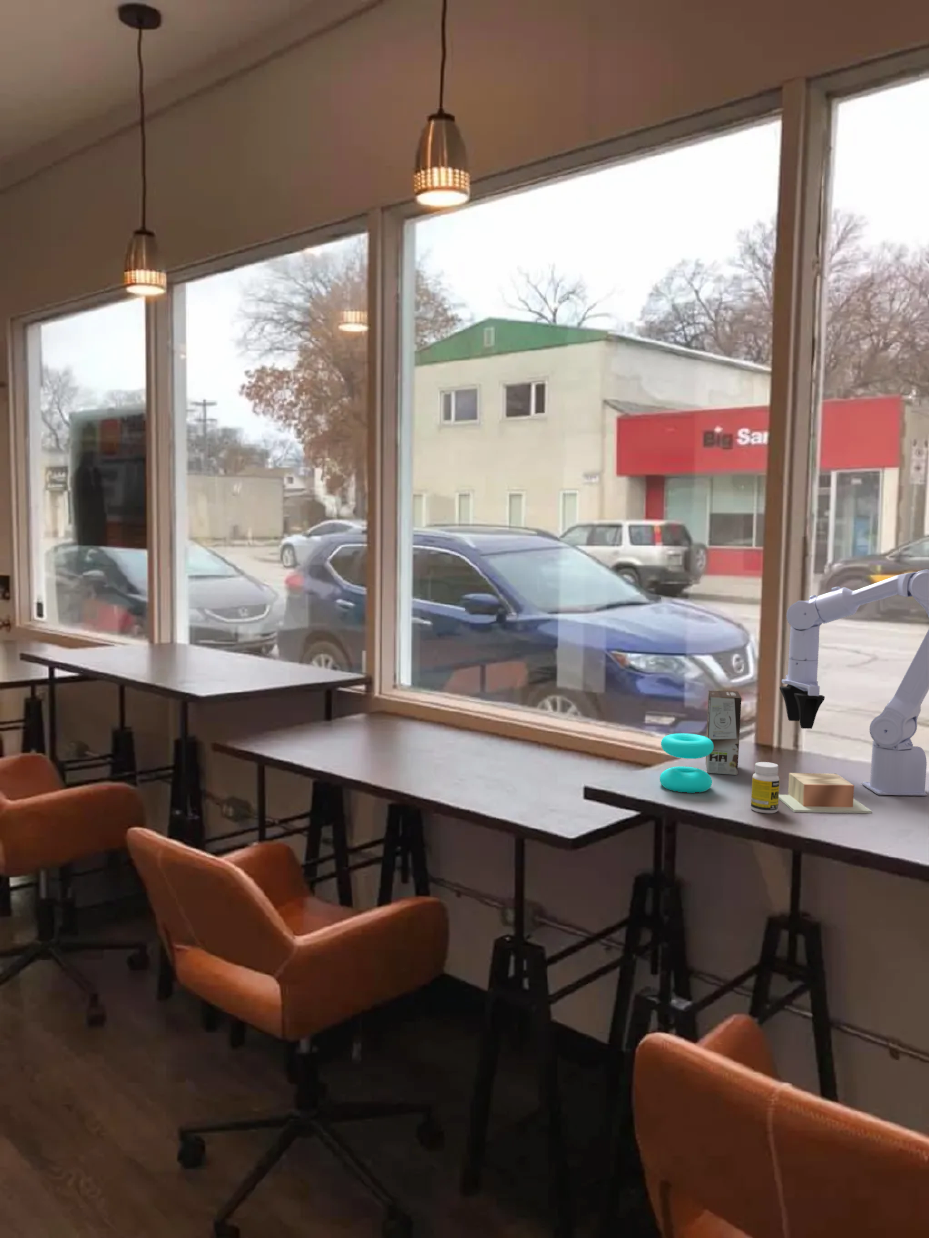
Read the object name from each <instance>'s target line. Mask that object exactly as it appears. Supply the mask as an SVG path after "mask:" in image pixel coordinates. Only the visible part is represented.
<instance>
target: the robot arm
mask: <svg viewBox="0 0 929 1238" xmlns="http://www.w3.org/2000/svg"><path fill="white" fill-rule="evenodd" d="M894 596H900V597H905V598H911V597H912V598H913V599H914V600H915V601H916V602H917V603H918V605H920V606H921V607H922V608H923V609H924V611H925V612H926V615H927V617H928V618H929V569H922V570H918V571H914V572H907V573H901V574H897V575H894V576H891V577H889V578H885V579H883V580H880V581H878V582H875V583H872V584H870V585H866V586H863V587H861V588H859V589H856V590H852V589H850V588H848V587H845V586H844V587H840V585H839V586H834V587H831V591H829V592H826V593H823V594H819V595H816V594H814V595H813V594H812V595H810V596H809V600H797V601H796V602H794V603H792V604H791V605H790V606H789V607H788V608H787V611H786V621H787V623H788V625H790V628H789V629H790V631H789V643H788V644H789V646H788V647H789V648H788V662H787V663H788V664H787V666H788V667H787V668H788V669H787V674H786V675H785V679H784V678H782V679H781V683H782V684H784V685H786V686H782V685H781V686H779V690H780V692H781V694H782V697H783V700H784V705H785V710H786V716H787V721H789V722H799V725H800V729H803V730H804V729H805V730H806V729H808V730H811V729H812V730H813V727H814V724H815V720H816V717H817V713H818V711H819V709H820V707H821V705H822V704H823V702H824V701H825V698H826V697H825V696H824V695H823V694H820V689H821V687H820V685H819V681H818V671H819V669H818V668H819V667H818V666H819V649H820V648H819V647H820V646H819V645H820V628H821V626H822V624H828V623H831V622H834V621H837V620H840V619H844V618H847V617H850V616H854V615H855V614H856V613H857V611H858V609H859V607H860V606H863V605H866V604H869V603H872V602H877V601H880V600H884V599H887V598H890V597H894ZM910 662H911V663H910V665H909V667H908V668H907V670H906V672H905V674H904V677H903V678H902V680H901V682H900V684H899V686H898V687H897V690H896V692H895V693H894V695H893V696H892V697H891V699H890V701H888V703H887V704H886V705H885V706H884V708H883V710H882V712H881V713H880V714H879V715H877V716H876V717H874V718H873V719H872V721H871V722H870V724H869V735H870V737H871V739H872V746H871V747H872V749H871V763H870V780H869V781H862V783H861V785H863V786H864V787H865V788H867V789H868V790H870V791H872V792H873V793H875V794H876V795H879V796H921V797H923V796H927V792H926V780H927V779H926V778H927V765H928V764H927V763H928V762H927V756H926V753H925V750H924V749H923V748H922V747H921V746H919V745H918V746H914V743H913V742H912V739H911V738H913V737H914V735H915V734H916V732H917V730H918V718H919V715H920V714H921V710H922V709H921V708H922V704H923V701H924V700H925V698H926V696H927V694H928V692H929V629H928V630H927V632H926V634H925V636H924V638H923V640H922V642H921V643H920V645H919V648H918V650H917V651H916V653H915V655H914V657H913V659H912V661H910Z"/></svg>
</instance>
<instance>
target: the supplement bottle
mask: <svg viewBox="0 0 929 1238" xmlns="http://www.w3.org/2000/svg"><path fill="white" fill-rule="evenodd" d="M754 772H755V773H753V774H752V778H751V795H750V796H751V798H750V808H751V810H752V811H754V812H757V813H761V814H762V813H763V814H775V813H777V812H778V811H779V800H780V799H779V795H780V776H779V774H778V773H779V765H778V764H777V763H773V762H768V761H767V762H766V761H760V762H759V761H758V762H756V763H755V764H754Z"/></svg>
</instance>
